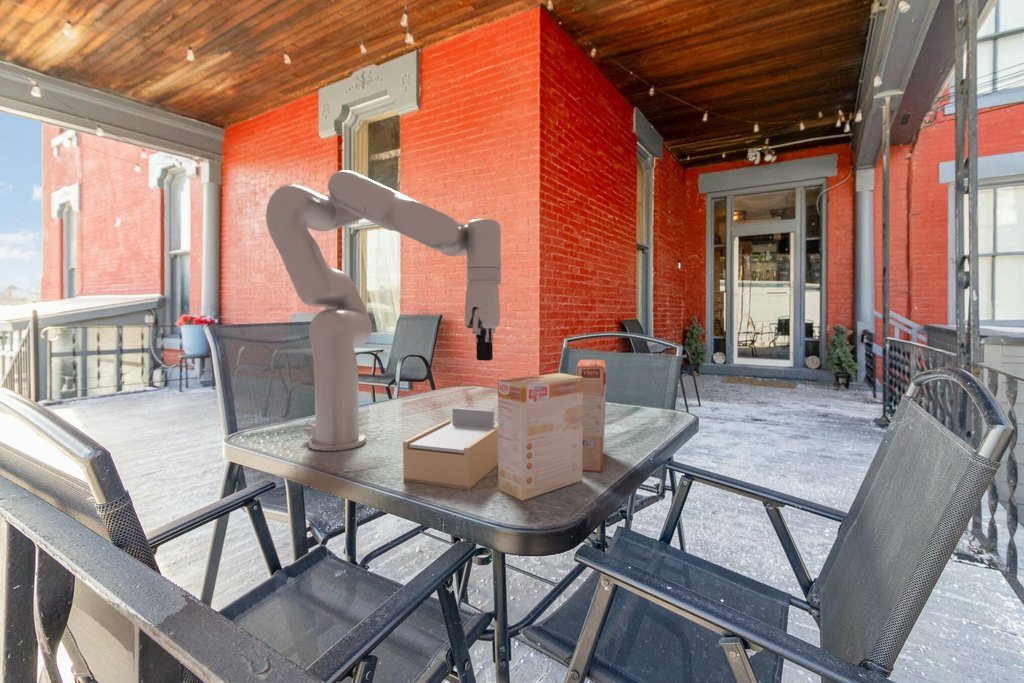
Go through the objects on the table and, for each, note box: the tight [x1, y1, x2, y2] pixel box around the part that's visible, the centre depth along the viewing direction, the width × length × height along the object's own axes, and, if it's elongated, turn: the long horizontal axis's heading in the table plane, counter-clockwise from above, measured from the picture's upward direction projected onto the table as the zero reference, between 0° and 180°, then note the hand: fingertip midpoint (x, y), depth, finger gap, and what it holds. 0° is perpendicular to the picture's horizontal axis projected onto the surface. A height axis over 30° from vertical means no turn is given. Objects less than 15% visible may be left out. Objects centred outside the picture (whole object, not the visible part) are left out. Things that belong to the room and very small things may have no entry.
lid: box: [409, 407, 496, 453], centre depth 92 cm, size 11×17×4 cm, turn 161°
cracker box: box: [575, 358, 607, 473], centre depth 97 cm, size 14×6×21 cm, turn 168°
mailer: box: [402, 419, 498, 490], centre depth 92 cm, size 13×18×7 cm
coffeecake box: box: [497, 372, 583, 502], centre depth 84 cm, size 15×7×20 cm, turn 129°
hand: (484, 359), depth 104 cm, fingers closed
